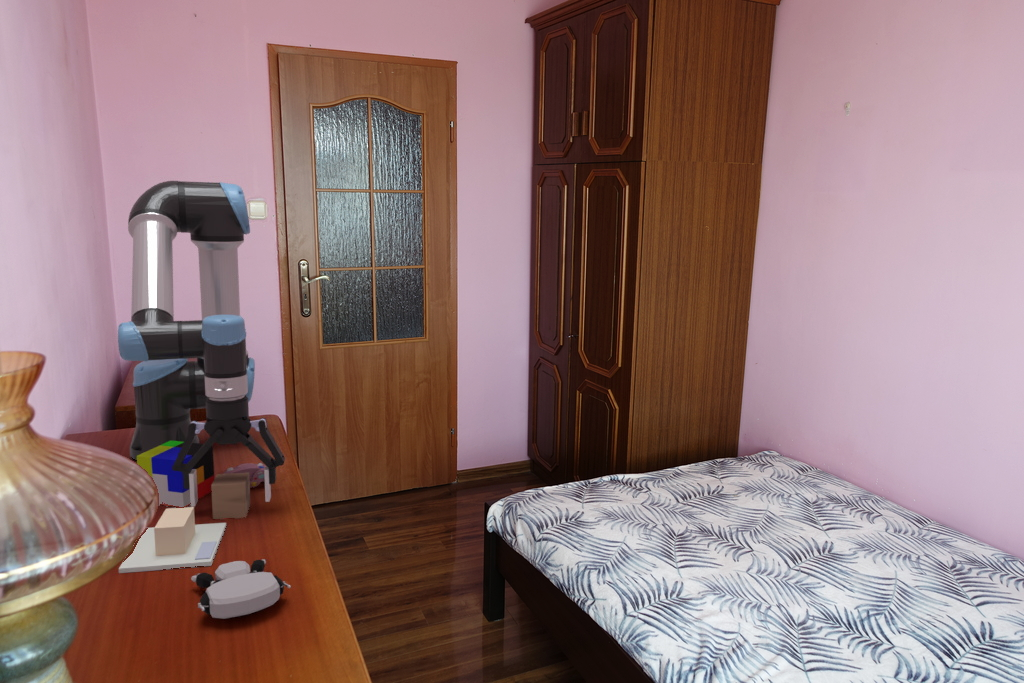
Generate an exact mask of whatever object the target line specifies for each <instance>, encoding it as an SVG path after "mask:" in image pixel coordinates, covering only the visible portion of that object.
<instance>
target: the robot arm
mask: <svg viewBox="0 0 1024 683" xmlns="http://www.w3.org/2000/svg"><path fill="white" fill-rule="evenodd" d="M127 222H128V223H127V224H128V226H127V229H128V233H129V236H130V237H131V238H132V274H131V275H132V276H131V277H132V278H131V307H130V308H131V310H130V311H131V312H130V313H131V316H130V317H131V318H130V319H131V320H130V321H127V322H121V323H120V324H119V325H118V327H117V345H118V353H119V356H120V358H121V359H122V360H124V361H125V362H126V361H127V362H128V361H131V362H140V363H138V364H136V365H135V367H134V368H133V372H132V373H133V381H132V386H133V389H134V393H133V394H134V405H135V406H134V407H135V418H136V419H135V422H136V424H135V429H134V431H133V436H132V437H131V442H130V445H129V456H130V458H131V457H132V458H133V459H135V460H137V456H138V455H140V454H142V453H144V452H146V451H149V450H151V449H153V448H155V447H158V446H160V445H162V444H164V443H166V442H169V441H180V442H184V444H183V446H182V448H181V450H180V452H179V454H178V456H177V458H176V460H175V462H174V464H173V466H172V470H173V471H180V472H182V473H183V480H184V488H185V489H190V502H191V504H190V507H196V505H197V503H198V501H199V500H198V493H197V474H196V469H192V468H193V467H194V466H195V465H196V463H197V462H198V461H199V460H200V459H201V458H202V456H203V455H204V454H205V453H206V452H207V451H208V449H209V448H210V447H211V446H212V445H214V444H215V443H216V444H219V446H224V445H237V444H239V443H241V444H242V446H244V447H246V448H247V449H249V450H250V451H251V453H253V455H255V457H257V458H258V459H259V461H260V462H261V463H262V464H263V465H265V466H266V467H265V470H264V476H265V482H264V494H265V496H264V497H265V498H264V499H265V500H264V501H265V503H267V502H268V503H269V502H270V501H271V498H272V492H271V491H272V487H271V485H275V483H276V481H277V470H276V468H277V467H279V466H283V465H284V464H285V461H286V457H285V455H284V453H283V452H282V450H281V448H280V447H279V445H278V443H277V441H276V440H275V438H274V437H273V434H272V433H271V432H270V430H269V428H268V423H267V422H268V421H267V419H266V417H261V418H260V419H256V420H251V419H250V415H249V413H250V412H249V403H250V401H251V400H252V397H253V396H252V395H253V392H254V385H255V370H256V363H255V359H254V358H252V357H249V351H248V350H247V341H246V340H247V338H246V337H247V331H246V324H245V318H244V317H242V316H241V308H240V307H241V306H240V283H239V282H240V281H239V280H240V279H239V253H238V249H239V247H240V246H241V245H242V244H243V243H244V242H245V236H244V235H249V234H250V233H251V227H250V219H249V212H248V207H247V202H246V196H245V192H244V189H242V187H241V186H240V185H239V184H235V183H228V182H227V183H226V182H221V181H220V182H212V181H211V182H209V181H208V182H206V181H205V182H204V181H185V180H184V181H181V180H168V181H162V182H159V183H156V184H154V185H153V186H151V187H150V188H148V189H146V190H145V191H144V192H143V193H142V194H141V195H140V196H139V197H138V199H137V200H136V201H135V202H134V203H133V205H132V208H131V210H130V212H129V215H128V220H127ZM178 233H182V234H187V233H189V234H190V242H192V244H194V245H195V246H196V248H197V249H198V250H197V251H198V267H199V268H198V269H199V289H200V307H201V309H200V310H201V320H200V319H199V320H198V319H196V320H175V318H174V316H175V314H174V268H173V267H174V264H173V263H174V260H173V257H174V256H173V252H174V251H173V241H174V240H175V239H176V237H177V235H178ZM189 359H196V360H194V361H193V360H191V361H188V360H189ZM195 409H196V410H197V409H199V410H200V409H205V412H206V413H205V416H206V421H205V422H199V421H197V420H195V419H193V420H191V410H195ZM251 428H253V429H254V430H255V431H256V432H259V434H260V436H261V438H262V441H263V442H264V443H265V445H266V447H267V448H268V450H269V452H270V453H271V455H270V454H269V453H268V452H267V451H266V450H265V449H264V448H263V447H262V446H261V444H259V443H258V442H257V441H256V440H255V438H254V437H253V436H252V435H251V434H250V433H249V431H251ZM202 430H204V431H205V432H206V433H207V435H208V436H209V437H208V439H206V441H205V442H204V443H202V444H203V446H202V447H201V448H200V449H199V450H198V451H197V453H196V454H195V455H194V456H193V457H192V458H191V460H190V461H189V462H188V463H187V464H185V463H183V461H184V459H185V457H186V455H187V453H188V451H189V449H190V447H191V445H192V443H199V444H200V439H199V436H198V435H199V434H200V433H201V432H202ZM132 458H131V459H132ZM133 459H132V460H133ZM135 460H134V461H135ZM191 469H192V470H191Z"/></svg>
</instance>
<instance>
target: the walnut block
mask: <svg viewBox="0 0 1024 683" xmlns="http://www.w3.org/2000/svg"><path fill="white" fill-rule="evenodd" d="M211 490H212V492H211V504H212V505H211V506H212V507H211V508H212V510H211V511H212V520H213V519H220V520H224V519H223V518H235V519H245V518H247V517H248V514H247V513H249V511H248V510H250V508H251V487H250V483H249V473H231V474H223V473H217V474H216V475H215V476H214V481H213V483H212V485H211ZM249 507H250V508H249ZM246 516H247V517H246ZM241 517H242V518H241ZM243 517H245V518H243Z"/></svg>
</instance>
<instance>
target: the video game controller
mask: <svg viewBox="0 0 1024 683" xmlns="http://www.w3.org/2000/svg"><path fill="white" fill-rule="evenodd" d="M265 467H266V465H265V464H264V463H263V462H259V463H249V462H248V463H247V462H245V463H242V464H239V465H237V466H234V467H228V468H227V470H224V471H223V473H222V474H231V473H249V483H250V489H253V488H257V487H258V486H259V485H260V483H265V476H264V470H265ZM252 487H253V488H252Z"/></svg>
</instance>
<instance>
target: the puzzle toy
mask: <svg viewBox="0 0 1024 683" xmlns="http://www.w3.org/2000/svg"><path fill="white" fill-rule="evenodd" d="M183 444H184V442H180V441H169V442H166V443H164V444H162V445H160V446H158V447H155V448H153V449H151V450H149V451H146V452H144V453H142V454H140V455H138V456H137V461H136V464H138V465H140V466H141V467H142V468H143V469H145V470H146V471H147V472H148V474H149V475H150V476H151V477H152V478H153V480H154V482H155V484H156V486H157V489H158V493H159V505H158V506H160V504H162V502H163V504H164V503H165V504H168V505H173V506H179V507H184V506H186V505H188V504H190V503H191V502H190V489H185V488H184V480H183V473H182V472H180V471H173V470H172V466H173V464H174V462H175V460H176V458H177V456H178V454H179V452H180V450H181V448H182V446H183ZM203 444H204V443H200V442H199V443H192V445H191V447H190V449H189V451H188V453H187V455H186V457H185V459H184V461H183V463H185V464H187V463H188V462H189V461H190V460H191V458H192V457H193V456H194V455H195V454H196V453H197V451H198V450H199V449H200V448H201V447H202V446H203ZM213 445H214V444H213ZM213 445H212V446H211V447H210V448H209V449H208V451H207V452H206V453H205V454H204V455H203V456H202V458H201V459H200V460H199V461H198V462H197V463H196V465H195V466H194V467H193V468H192V469H196V474H197V493H198V499H199V498H200V499H202V498H203V497H205V496H207V495H208V494H210V493H212V492H211V491H212V490H211V485H212V483H213V481H214V479H215V465H214V464H215V463H214V462H215V460H214V446H213ZM192 469H191V470H192ZM206 494H207V495H206ZM204 495H205V496H204ZM201 497H202V498H201ZM200 499H199V500H200ZM190 505H191V504H190Z"/></svg>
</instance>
